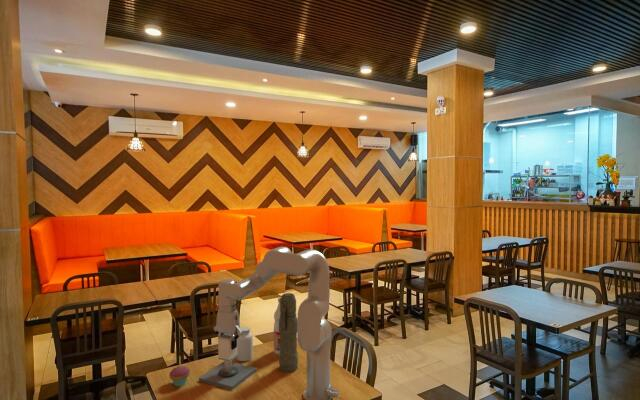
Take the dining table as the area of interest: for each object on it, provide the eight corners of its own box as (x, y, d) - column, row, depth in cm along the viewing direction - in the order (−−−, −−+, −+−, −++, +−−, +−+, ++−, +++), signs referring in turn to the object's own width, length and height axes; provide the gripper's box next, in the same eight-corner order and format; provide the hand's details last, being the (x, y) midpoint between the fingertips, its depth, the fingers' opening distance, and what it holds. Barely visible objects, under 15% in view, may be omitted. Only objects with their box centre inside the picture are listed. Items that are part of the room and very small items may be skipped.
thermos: (275, 373, 179) (275, 297, 177) (282, 361, 190) (282, 290, 189) (294, 374, 177) (294, 298, 176) (300, 363, 189) (300, 291, 187)
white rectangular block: (237, 356, 177) (237, 334, 177) (229, 361, 172) (229, 339, 171) (226, 353, 180) (226, 332, 179) (218, 359, 174) (217, 337, 174)
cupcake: (169, 380, 172) (169, 354, 172) (190, 377, 175) (189, 351, 175) (169, 390, 164) (169, 362, 164) (190, 386, 167) (190, 359, 167)
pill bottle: (249, 362, 189) (248, 332, 189) (233, 361, 191) (233, 330, 190) (255, 355, 197) (254, 326, 197) (240, 354, 199) (239, 325, 198)
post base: (256, 371, 181) (256, 344, 180) (232, 390, 164) (231, 361, 164) (225, 363, 188) (224, 338, 187) (198, 381, 172) (198, 353, 171)
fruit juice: (286, 346, 208) (285, 294, 206) (295, 352, 200) (295, 299, 199) (270, 351, 202) (270, 298, 201) (280, 357, 194) (279, 302, 193)
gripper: (248, 307, 175) (248, 347, 175) (217, 302, 182) (218, 340, 183) (238, 312, 168) (238, 353, 169) (206, 307, 175) (207, 347, 176)
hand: (227, 346), depth 176 cm, fingers closed on white rectangular block, 6 cm apart
